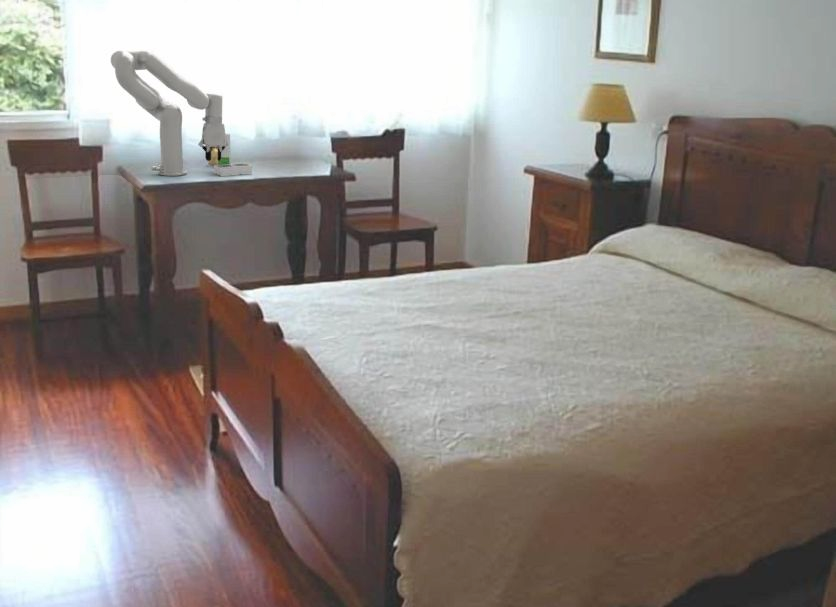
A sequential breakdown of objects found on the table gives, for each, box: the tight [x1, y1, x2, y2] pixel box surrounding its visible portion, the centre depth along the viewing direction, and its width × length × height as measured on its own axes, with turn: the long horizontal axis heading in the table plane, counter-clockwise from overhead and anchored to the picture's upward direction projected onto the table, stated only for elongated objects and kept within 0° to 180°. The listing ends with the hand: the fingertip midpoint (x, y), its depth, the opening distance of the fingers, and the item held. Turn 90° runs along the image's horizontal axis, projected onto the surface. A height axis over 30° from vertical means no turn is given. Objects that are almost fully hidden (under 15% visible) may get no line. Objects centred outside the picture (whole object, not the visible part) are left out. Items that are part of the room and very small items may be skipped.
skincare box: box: [212, 132, 231, 167], centre depth 449 cm, size 8×7×16 cm
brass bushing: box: [208, 146, 218, 166], centre depth 429 cm, size 4×4×8 cm
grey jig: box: [213, 162, 253, 177], centre depth 426 cm, size 15×8×4 cm, turn 124°
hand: (213, 160), depth 429 cm, fingers closed on brass bushing, 4 cm apart
